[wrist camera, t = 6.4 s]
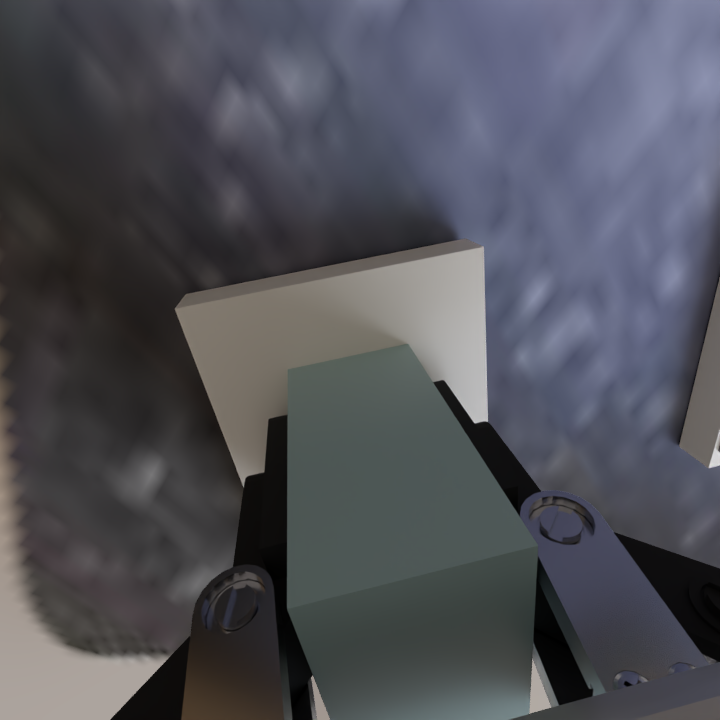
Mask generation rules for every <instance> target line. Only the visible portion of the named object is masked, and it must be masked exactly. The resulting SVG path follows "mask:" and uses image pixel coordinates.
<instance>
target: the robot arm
mask: <svg viewBox="0 0 720 720" xmlns="http://www.w3.org/2000/svg"><path fill="white" fill-rule="evenodd" d="M433 383H434V385H435V386H436V388H437V389H438V391H439V392H440V394H441V396H442V397H443V399H444V400H445V402H446V403H447V405H448V406H449V408H450V410H451V411H452V413H453V414H454V416H455V417H456V419H457V420H458V422H459V423H460V425H461V427H462V428H463V430H464V431H465V433H466V434H467V436H468V437H469V439H470V441H471V442H472V444H473V445H474V447H475V448H476V450H477V451H478V453H479V454H480V456H481V458H482V459H483V461H484V462H485V464H486V465H487V467H488V468H489V470H490V472H491V473H492V475H493V476H494V478H495V479H496V481H497V482H498V484H499V485H500V487H501V489H502V490H503V492H504V493H505V495H506V496H507V498H508V499H509V501H510V502H511V504H512V506H513V507H514V509H515V510H516V512H517V513H518V515H519V516H520V518H521V520H522V521H523V523H524V524H525V526H526V527H527V529H528V530H529V532H530V533H531V535H532V537H533V538H534V540H535V541H536V543H537V544H538V559H537V578H536V596H535V615H534V634H533V652H532V658H533V661H534V663H535V666H536V668H537V671H538V673H539V676H540V679H541V681H542V684H543V686H544V689H545V692H546V694H547V696H548V699H549V702H550V704H551V707H552V708H549V709H545V710H542V711H538V712H534V713H531V714H527V715H524V716H520V717H516V718H513V719H509V720H720V569H719V568H716V567H713V566H710V565H708V564H705V563H702V562H699V561H696V560H693V559H690V558H687V557H684V556H681V555H679V554H676V553H673V552H670V551H667V550H664V549H661V548H658V547H655V546H652V545H650V544H647V543H644V542H641V541H638V540H635V539H632V538H629V537H626V536H623V535H621V534H618V533H615V532H613V531H612V530H611V528H610V527H609V525H608V524H607V523H606V521H605V520H604V518H603V517H602V516H601V514H600V513H599V512H598V511H597V510H596V509H595V508H594V507H593V506H592V505H591V504H590V503H588V502H587V501H585V500H584V499H582V498H581V497H578V496H576V495H573V494H571V493H568V492H562V491H556V490H552V491H542V492H541V490H540V489H539V488H538V487H537V485H536V484H535V483H534V481H533V480H532V479H531V477H530V476H529V475H528V473H527V472H526V471H525V469H524V468H523V467H522V465H521V464H520V463H519V461H518V460H517V459H516V457H515V456H514V455H513V453H512V452H511V451H510V450H509V448H508V447H507V446H506V444H505V443H504V442H503V440H502V439H501V438H500V436H499V435H498V434H497V432H496V431H495V430H494V428H493V427H492V426H491V425H490V424H489V423H488V422H486V421H483V422H479V423H474V422H473V420H472V419H471V418H470V416H469V415H468V413H467V412H466V410H465V409H464V408H463V406H462V405H461V403H460V402H459V400H458V399H457V398H456V396H455V395H454V393H453V392H452V390H451V389H450V388H449V386H448V385H447V383H446V382H445V381H444V380H440V381H436V382H433ZM287 444H288V415H283V416H279V417H274V418H270V419H269V420H268V430H267V444H266V457H265V470H264V472H263V473H258V474H254V475H250V476H247V477H246V478H245V483H244V490H243V497H242V505H241V512H240V519H239V527H238V534H237V542H236V549H235V556H234V564H233V567H232V568H230V569H228V570H226V571H224V572H222V573H221V574H219V575H218V576H217V577H215V578H214V579H213V580H211V582H210V583H209V584H208V585H207V586H206V587H205V588H204V589H203V591H202V592H201V594H200V596H199V598H198V599H197V601H196V603H195V607H194V611H193V615H192V624H191V633H190V636H189V637H188V638H187V640H186V641H185V642H184V643H183V644H182V645H181V646H180V647H179V648H178V649H177V650H176V651H175V652H174V653H173V654H172V655H171V656H170V657H169V658H168V660H167V661H166V662H165V663H164V664H163V665H162V666H161V667H160V668H159V669H158V670H157V671H156V672H155V673H154V674H153V675H152V677H150V679H149V680H148V681H147V682H146V683H145V684H144V685H143V686H142V687H141V688H140V689H139V690H138V691H137V692H136V694H134V696H132V697H131V698H130V700H129V701H128V702H127V703H126V704H125V705H124V706H123V707H122V708H121V709H120V710H119V711H118V712H117V713H116V714H115V715H114V716H113V717H112V719H111V720H317V716H316V710H315V701H314V694H313V687H312V681H311V677H312V675H313V674H312V671H311V669H310V666H309V664H308V661H307V659H306V656H305V654H304V651H303V648H302V646H301V643H300V641H299V638H298V636H297V633H296V631H295V628H294V625H293V623H292V620H291V618H290V615H289V613H288V610H287Z"/></svg>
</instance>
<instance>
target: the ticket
mask: <svg viewBox="0 0 720 720" xmlns="http://www.w3.org/2000/svg"><path fill="white" fill-rule="evenodd" d="M679 447H680V448H682V449H683V450H685V451H686V452H687V453H689V454H690V455H691V456H693V457H694V458H695V459H697V460H698V461H699V462H701V463H702V464H704V465H705V466H706V467H708V468H711V467H715V466H719V465H720V279H719V283H718V287H717V291H716V295H715V299H714V303H713V308H712V312H711V316H710V320H709V324H708V328H707V332H706V336H705V341H704V345H703V349H702V353H701V357H700V361H699V365H698V370H697V374H696V378H695V382H694V386H693V390H692V394H691V399H690V403H689V407H688V411H687V415H686V419H685V423H684V427H683V432H682V436H681V440H680V444H679Z"/></svg>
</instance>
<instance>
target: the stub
mask: <svg viewBox="0 0 720 720" xmlns="http://www.w3.org/2000/svg"><path fill="white" fill-rule="evenodd" d="M175 311H176V314H177V316H178V319H179V321H180V324H181V327H182V329H183V332H184V334H185V337H186V340H187V342H188V345H189V347H190V350H191V353H192V355H193V358H194V360H195V363H196V366H197V368H198V371H199V373H200V376H201V379H202V381H203V384H204V386H205V389H206V391H207V394H208V397H209V399H210V402H211V404H212V407H213V410H214V412H215V415H216V417H217V420H218V423H219V425H220V428H221V430H222V433H223V436H224V438H225V441H226V443H227V446H228V449H229V451H230V454H231V456H232V459H233V462H234V464H235V467H236V469H237V472H238V474H239V477H240V480H241V482H242V485H243V487H244V483H245V478H246V477H247V476H250V475H254V474H258V473H263V472H264V470H265V457H266V444H267V430H268V420H269V419H270V418H274V417H279V416H283V415H288V444H287V610H288V613H289V615H290V618H291V620H292V623H293V625H294V628H295V631H296V633H297V636H298V638H299V641H300V643H301V646H302V648H303V651H304V654H305V656H306V659H307V661H308V664H309V666H310V669H311V671H312V674H313V677H314V679H315V682H316V684H317V687H318V689H319V692H320V694H321V697H322V700H323V702H324V704H325V707H326V710H327V712H328V715H329V717H330V720H509V719H513V718H516V717H520V716H524V715H527V714H529V708H530V690H531V689H530V688H531V671H532V652H533V634H534V615H535V596H536V578H537V559H538V544H537V543H536V541H535V540H534V538H533V537H532V535H531V533H530V532H529V530H528V529H527V527H526V526H525V524H524V523H523V521H522V520H521V518H520V516H519V515H518V513H517V512H516V510H515V509H514V507H513V506H512V504H511V502H510V501H509V499H508V498H507V496H506V495H505V493H504V492H503V490H502V489H501V487H500V485H499V484H498V482H497V481H496V479H495V478H494V476H493V475H492V473H491V472H490V470H489V468H488V467H487V465H486V464H485V462H484V461H483V459H482V458H481V456H480V454H479V453H478V451H477V450H476V448H475V447H474V445H473V444H472V442H471V441H470V439H469V437H468V436H467V434H466V433H465V431H464V430H463V428H462V427H461V425H460V423H459V422H458V420H457V419H456V417H455V416H454V414H453V413H452V411H451V410H450V408H449V406H448V405H447V403H446V402H445V400H444V399H443V397H442V396H441V394H440V392H439V391H438V389H437V388H436V386H435V385H434V383H433V382H436V381H440V380H444V381H445V382H446V383H447V385H448V386H449V388H450V389H451V390H452V392H453V393H454V395H455V396H456V398H457V399H458V400H459V402H460V403H461V405H462V406H463V408H464V409H465V410H466V412H467V413H468V415H469V416H470V418H471V419H472V420H473V422H474V423H479V422H483V421H486V422H488V408H487V365H486V322H485V279H484V247H483V246H481V245H479V244H476V243H474V242H472V241H470V240H468V239H460V240H455V241H450V242H445V243H440V244H435V245H430V246H425V247H420V248H415V249H410V250H405V251H400V252H395V253H390V254H385V255H380V256H375V257H370V258H365V259H360V260H355V261H350V262H345V263H340V264H335V265H330V266H325V267H320V268H315V269H309V270H304V271H299V272H294V273H289V274H284V275H279V276H274V277H269V278H264V279H259V280H254V281H249V282H244V283H239V284H234V285H229V286H224V287H219V288H214V289H209V290H204V291H199V292H194V293H189V294H185V296H184V297H183V298H182V300H181V301H180V302H179V304H178V305H177V306H176V308H175Z"/></svg>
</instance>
